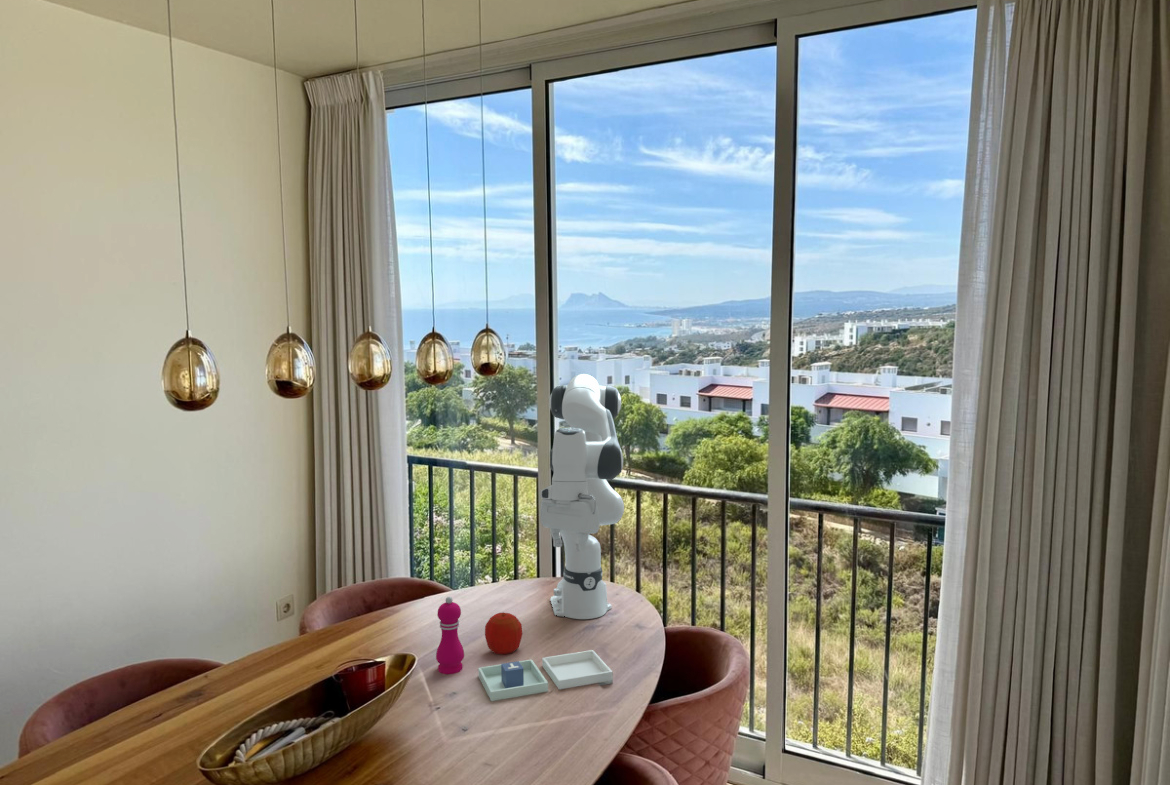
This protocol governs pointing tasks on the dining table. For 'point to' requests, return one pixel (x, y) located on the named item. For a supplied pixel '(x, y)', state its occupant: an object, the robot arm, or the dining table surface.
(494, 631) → the apple
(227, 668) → the dining table surface
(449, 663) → the pepper mill
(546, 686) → the tray sage
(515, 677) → the letter cube
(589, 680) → the tray offwhite
